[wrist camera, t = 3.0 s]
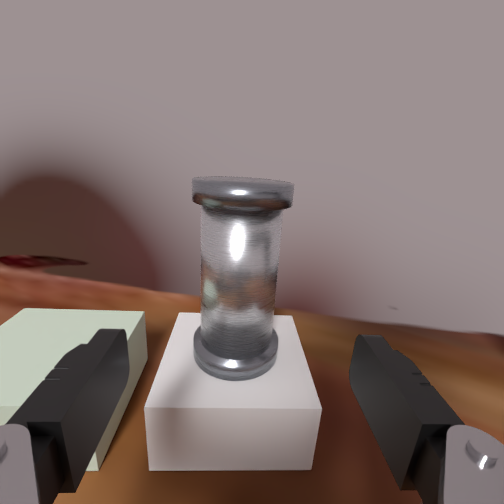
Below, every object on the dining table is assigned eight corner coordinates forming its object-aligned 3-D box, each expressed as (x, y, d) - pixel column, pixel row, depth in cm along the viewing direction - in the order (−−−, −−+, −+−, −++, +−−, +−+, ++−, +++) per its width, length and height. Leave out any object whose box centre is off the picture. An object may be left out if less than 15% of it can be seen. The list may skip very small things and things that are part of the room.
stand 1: (147, 358, 27) (144, 311, 25) (98, 471, 17) (88, 406, 16) (35, 356, 26) (24, 308, 25) (-79, 471, 17) (-109, 405, 15)
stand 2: (286, 361, 28) (291, 315, 26) (311, 470, 18) (321, 408, 17) (180, 359, 27) (179, 312, 25) (149, 470, 18) (144, 407, 16)
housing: (272, 327, 24) (285, 179, 20) (282, 381, 18) (304, 189, 15) (199, 326, 24) (199, 174, 20) (186, 380, 18) (183, 183, 14)
